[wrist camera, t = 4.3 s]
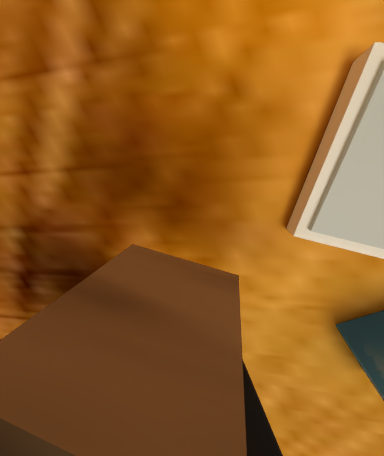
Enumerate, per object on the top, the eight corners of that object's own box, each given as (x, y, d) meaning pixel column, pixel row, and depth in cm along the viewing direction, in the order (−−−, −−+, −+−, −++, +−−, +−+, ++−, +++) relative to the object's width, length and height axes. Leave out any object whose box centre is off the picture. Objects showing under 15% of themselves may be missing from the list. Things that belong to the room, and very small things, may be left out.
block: (211, 355, 9) (179, 622, 4) (124, 323, 10) (-8, 510, 5) (238, 275, 8) (251, 542, 2) (132, 244, 8) (-64, 385, 3)
